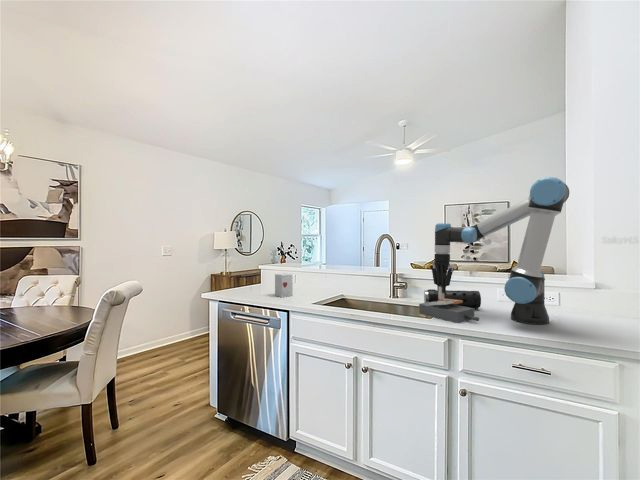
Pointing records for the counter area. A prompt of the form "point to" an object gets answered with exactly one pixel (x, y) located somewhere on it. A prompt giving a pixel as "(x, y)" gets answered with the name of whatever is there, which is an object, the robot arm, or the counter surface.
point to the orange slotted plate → (452, 300)
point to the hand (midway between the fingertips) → (441, 298)
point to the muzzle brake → (456, 297)
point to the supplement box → (283, 285)
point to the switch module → (448, 312)
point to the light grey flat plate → (441, 302)
